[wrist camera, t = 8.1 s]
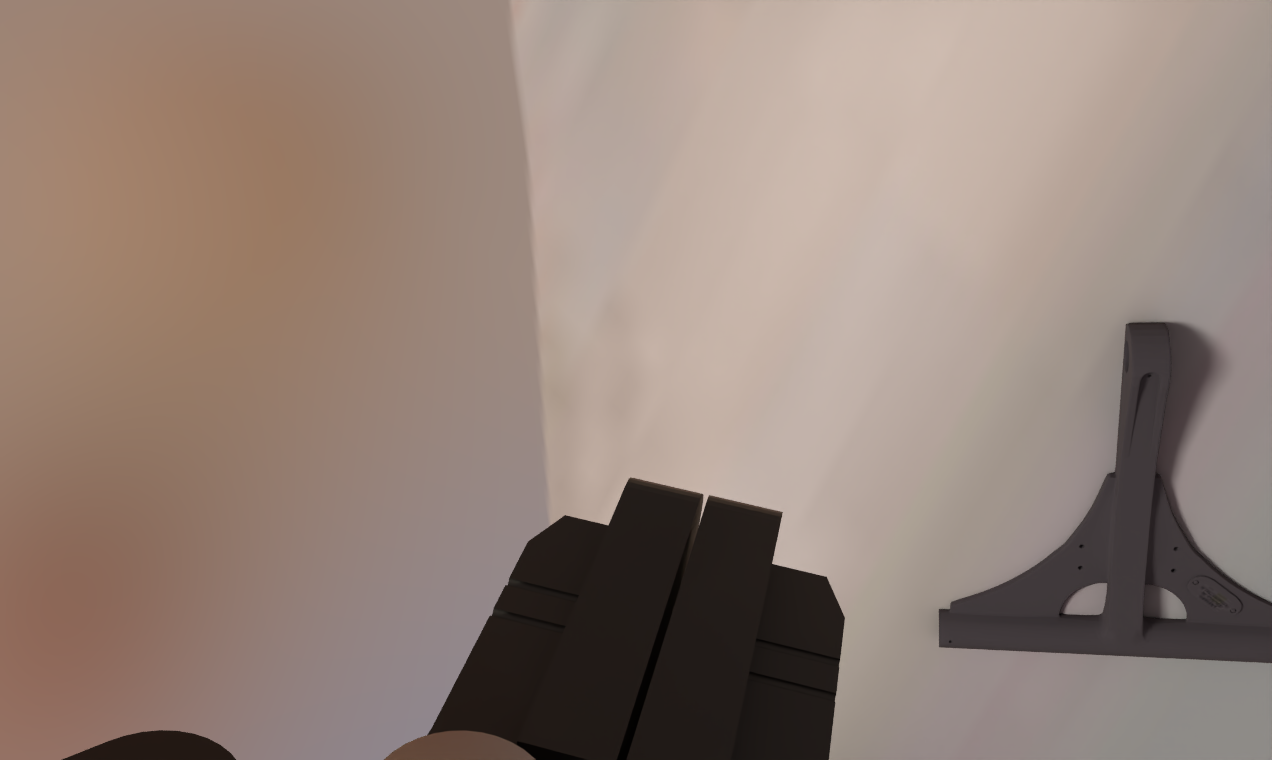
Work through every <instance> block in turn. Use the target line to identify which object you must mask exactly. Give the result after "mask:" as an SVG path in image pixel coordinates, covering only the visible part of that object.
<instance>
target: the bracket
mask: <svg viewBox="0 0 1272 760" xmlns="http://www.w3.org/2000/svg"><path fill="white" fill-rule="evenodd" d="M1170 377H1171V352H1170V340H1169V334H1168V329H1167V326H1166V324H1165V323H1129V324H1126V330H1125V345H1124V359H1123V372H1122V386H1121V400H1120V414H1119V428H1118V442H1117V456H1116V468H1115V473H1109V474H1107V476H1106V478H1105V480H1104V482H1103V484H1102V487H1101V489H1100V491H1099V493H1098V495H1097V497H1096V499H1095V501H1094V503H1093V505H1092V507H1091V509H1090V510H1089V512H1088V513H1087V515H1086V517H1085V518H1084V520H1083V521H1082V522H1081V524H1080V525H1079V526H1078V527H1077V529H1076V530H1075V531H1074V533H1073V534H1072V535H1071V536H1070V538H1069V539H1068V540H1067V541H1066V542H1065V543H1064V544H1063V545H1062V546H1061V547H1060V548H1058V549H1057V550H1056V551H1054V552H1053V553H1052V554H1050V555H1049V556H1048V557H1047V558H1045V559H1044V560H1043V561H1041V562H1040V563H1038V564H1037V565H1035V566H1034V567H1032V568H1031V569H1029V570H1028V571H1026V572H1024V573H1022V574H1021V575H1019V576H1017V577H1015V578H1013V579H1011V580H1009V581H1007V582H1005V583H1003V584H1001V585H999V586H996V587H994V588H991V589H989V590H986V591H984V592H981V593H978V594H975V595H972V596H969V597H965V598H962V599H959V600H956V601H953V602H951V605H950V609H939V647H946V648H967V649H988V650H1009V651H1030V652H1051V653H1072V654H1093V655H1114V656H1136V657H1157V658H1178V659H1199V660H1220V661H1241V662H1262V663H1272V603H1270V602H1268V601H1266V600H1264V599H1262V598H1260V597H1258V596H1256V595H1254V594H1252V593H1250V592H1248V591H1247V590H1245V589H1243V588H1242V587H1240V586H1238V585H1237V584H1235V583H1234V582H1232V581H1231V580H1229V579H1228V578H1227V577H1225V576H1224V575H1223V574H1221V573H1220V572H1219V571H1218V570H1216V569H1215V568H1214V567H1213V566H1212V565H1211V564H1210V563H1208V562H1207V561H1206V560H1205V559H1204V558H1203V557H1202V556H1201V555H1200V554H1199V553H1198V552H1197V551H1196V550H1195V549H1194V548H1193V547H1192V546H1191V544H1190V543H1189V541H1188V539H1187V538H1186V536H1185V535H1184V533H1183V531H1182V530H1181V528H1180V526H1179V525H1178V523H1177V521H1176V519H1175V517H1174V515H1173V513H1172V511H1171V508H1170V505H1169V502H1168V499H1167V496H1166V493H1165V489H1164V486H1163V483H1162V480H1161V477H1160V475H1159V474H1155V473H1156V464H1157V456H1158V450H1159V444H1160V437H1161V431H1162V424H1163V418H1164V412H1165V405H1166V399H1167V394H1168V390H1169V384H1170ZM1095 583H1107V594H1106V602H1105V606H1104V610H1103V613H1102V614H1100V615H1068V614H1059V612H1060V609H1061V607H1062V605H1063V603H1064V601H1065V600H1066V599H1067V598H1068V597H1069V596H1070V595H1071V594H1072V593H1073V592H1075V591H1076V590H1078V589H1080V588H1082V587H1085V586H1088V585H1091V584H1095ZM1145 584H1151V585H1156V586H1159V587H1162V588H1164V589H1167V590H1169V591H1170V592H1172V593H1173V594H1175V595H1176V596H1177V597H1178V598H1179V599H1180V600H1181V601H1182V603H1183V604H1184V606H1185V608H1186V612H1187V618H1186V619H1163V618H1149V617H1144V616H1143V606H1144V589H1145Z"/></svg>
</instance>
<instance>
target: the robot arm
mask: <svg viewBox="0 0 1272 760" xmlns="http://www.w3.org/2000/svg"><path fill="white" fill-rule="evenodd" d="M702 504H703V494H700V493H696V492H692V491H687V490H683V489H679V488H674V487H670V486H666V485H661V484H657V483H653V482H648V481H644V480H640V479H635V478H630V479H629V480H628V482H627V484H626V486H625V488H624V490H623V493H622V495H621V498H620V500H619V502H618V505H617V507H616V509H615V512H614V514H613V516H612V519H611V521H610V523H609V526H608V525H604V524H600V523H595V522H591V521H587V520H583V519H578V518H574V517H570V516H566V515H565V516H563V517H562V518H561V519H559V520H558V521H556V522H555V523H554V524H552V525H551V526H549V527H548V528H547V529H545V530H544V531H543V532H541V533H540V534H538V535H537V536H535V537H534V538H533V539H531V540H530V541H529V542H528V543H527V545H526V547H525V549H524V551H523V553H522V554H521V556H520V558H519V560H518V562H517V564H516V566H515V568H514V570H513V572H512V574H511V576H510V578H509V582H508V585H506V586H505V587H504V589H503V591H502V593H501V595H500V597H499V599H498V601H497V603H496V605H495V607H494V610H493V614H492V616H490V617H489V618H488V620H487V622H486V624H485V626H484V628H483V630H482V632H481V634H480V636H479V638H478V640H477V642H476V644H475V646H474V647H473V649H472V651H471V653H470V655H469V657H468V659H467V661H466V663H465V665H464V667H463V669H462V671H461V673H460V674H459V676H458V678H457V680H456V682H455V684H454V686H453V688H452V690H451V692H450V694H449V696H448V698H447V700H446V702H445V704H444V706H443V707H442V710H441V711H440V713H439V715H438V717H437V719H436V721H435V723H434V725H433V727H432V729H431V730H430V732H429V733H428V735H427V736H423V737H420V738H417V739H415V740H413V741H411V742H408V743H406V744H404V745H403V746H401V747H400V748H398V749H397V750H395V751H393V752H392V753H391V754H390V755H389V756H388V757H386V758H385V759H384V760H829V752H830V743H831V735H832V726H833V717H834V708H835V696H836V691H837V682H838V673H839V661H840V655H841V647H842V638H843V629H844V620H845V617H844V615H843V613H842V610H841V608H840V606H839V604H838V601H837V599H836V597H835V595H834V593H833V590H832V588H831V586H830V584H829V581H828V579H827V577H824V576H820V575H816V574H812V573H808V572H803V571H799V570H795V569H791V568H787V567H782V566H778V565H774V564H772V561H773V556H774V551H775V547H776V542H777V537H778V532H779V527H780V523H781V518H782V513H783V512H780V511H775V510H771V509H767V508H762V507H758V506H754V505H749V504H745V503H741V502H736V501H732V500H728V499H723V498H719V497H715V496H710V495H709V497H708V499H707V502H706V506H705V509H704V512H703V515H702V518H701V522H700V516H701V511H702ZM699 522H700V525H699ZM698 527H699V528H698ZM63 760H236V759H235V758H234V757H233V755H232V754H231V753H230V752H228V751H227V750H226V749H225V748H223V747H222V746H221V745H219V744H217V743H215V742H214V741H212V740H210V739H208V738H205V737H202V736H199V735H196V734H192V733H186V732H180V731H163V730H161V731H160V730H159V731H149V732H140V733H136V734H131V735H126V736H123V737H120V738H117V739H114V740H111V741H108V742H105V743H103V744H100V745H98V746H95V747H93V748H90V749H88V750H85V751H83V752H80V753H78V754H75V755H73V756H70V757H68V758H65V759H63Z"/></svg>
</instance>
